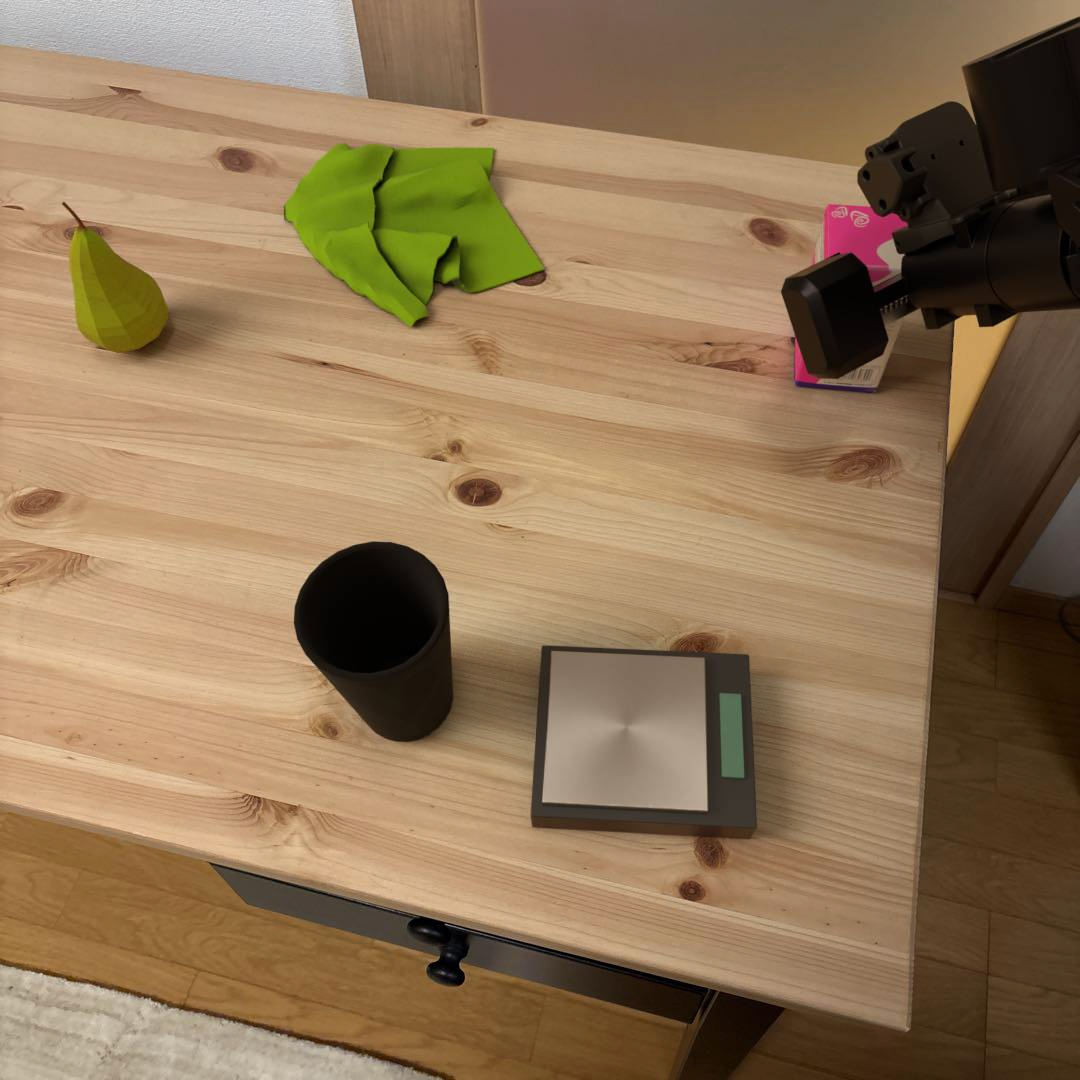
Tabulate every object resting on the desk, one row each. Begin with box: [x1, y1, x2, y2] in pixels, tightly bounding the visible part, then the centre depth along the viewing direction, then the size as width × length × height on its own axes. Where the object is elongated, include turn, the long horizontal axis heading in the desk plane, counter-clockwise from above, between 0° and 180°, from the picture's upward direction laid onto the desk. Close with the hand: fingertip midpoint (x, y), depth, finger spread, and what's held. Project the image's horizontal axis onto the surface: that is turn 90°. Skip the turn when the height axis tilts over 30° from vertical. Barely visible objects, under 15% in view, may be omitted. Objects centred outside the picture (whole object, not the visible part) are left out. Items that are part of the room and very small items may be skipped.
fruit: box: [61, 201, 170, 354], centre depth 70 cm, size 6×6×12 cm
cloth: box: [283, 142, 545, 328], centre depth 78 cm, size 20×22×2 cm
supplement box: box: [793, 203, 908, 394], centre depth 67 cm, size 6×6×12 cm
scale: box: [530, 644, 758, 840], centre depth 56 cm, size 12×10×3 cm
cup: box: [293, 541, 454, 743], centre depth 54 cm, size 8×8×12 cm
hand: (842, 278), depth 67 cm, fingers closed on supplement box, 8 cm apart
